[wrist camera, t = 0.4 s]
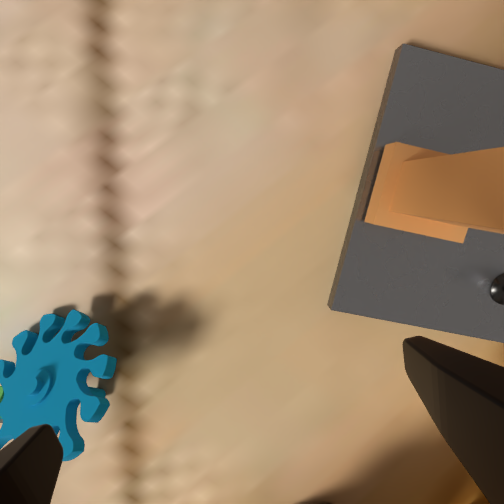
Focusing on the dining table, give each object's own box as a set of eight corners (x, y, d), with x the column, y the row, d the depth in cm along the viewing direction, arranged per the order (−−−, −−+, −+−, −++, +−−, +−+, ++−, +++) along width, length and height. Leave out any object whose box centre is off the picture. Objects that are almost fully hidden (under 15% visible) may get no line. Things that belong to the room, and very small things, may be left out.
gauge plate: (531, 344, 26) (618, 390, 20) (327, 304, 25) (355, 342, 19) (624, 109, 23) (759, 82, 17) (395, 49, 21) (455, -2, 16)
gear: (102, 285, 22) (96, 461, 16) (154, 313, 27) (163, 456, 21) (-28, 338, 24) (-73, 511, 18) (42, 355, 29) (23, 496, 23)
